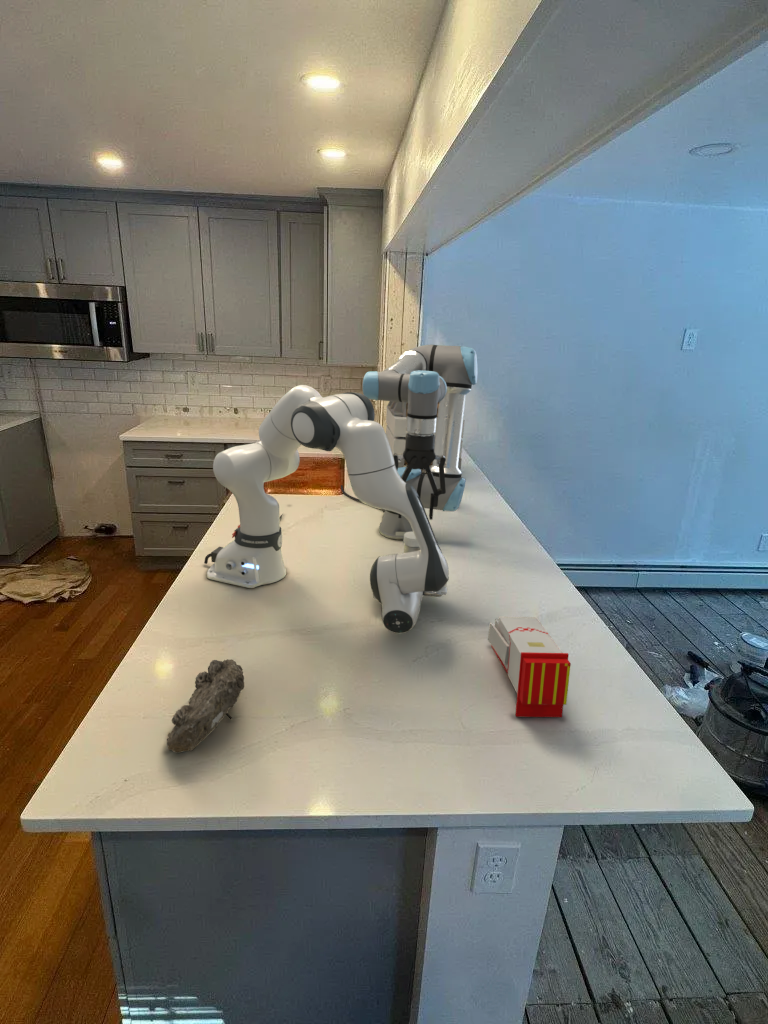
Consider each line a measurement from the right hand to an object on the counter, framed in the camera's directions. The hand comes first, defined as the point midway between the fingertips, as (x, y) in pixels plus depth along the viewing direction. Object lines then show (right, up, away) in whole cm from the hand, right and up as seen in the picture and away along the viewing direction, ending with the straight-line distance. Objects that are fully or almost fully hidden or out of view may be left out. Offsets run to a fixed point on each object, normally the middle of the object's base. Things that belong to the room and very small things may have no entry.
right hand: (415, 517), depth 152 cm
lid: (0, -5, +2) cm, 6 cm away
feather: (-46, -1, +58) cm, 74 cm away
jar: (-1, -21, +8) cm, 22 cm away
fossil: (-41, -38, -44) cm, 71 cm away
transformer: (+9, +20, +123) cm, 125 cm away
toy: (+22, -35, -28) cm, 49 cm away
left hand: (-1, -14, +6) cm, 16 cm away
